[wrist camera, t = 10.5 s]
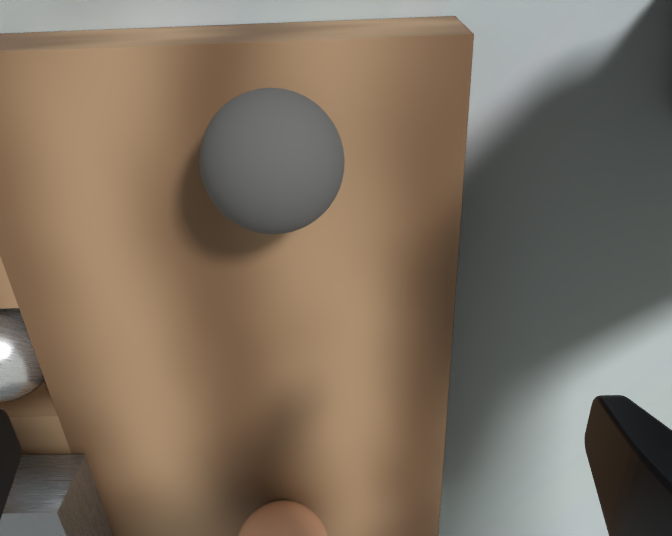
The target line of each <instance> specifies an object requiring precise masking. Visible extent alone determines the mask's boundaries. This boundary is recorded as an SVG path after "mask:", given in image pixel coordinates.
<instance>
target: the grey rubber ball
mask: <svg viewBox="0 0 672 536" xmlns="http://www.w3.org/2000/svg"><path fill="white" fill-rule="evenodd" d="M199 163H200V173H201V177H202V181H203V184H204V186H205V189H206V191H207V193H208V195H209V197H210V199H211V200H212V202H213V203H214V205H215V206H216V207H217V208H218V209H219V211H220V212H221V213H222V214H224V215H225V216H226V217H227V218H228V219H229V220H231V221H232V222H234V223H235V224H237V225H239V226H241V227H243V228H245V229H248V230H250V231H254V232H257V233H263V234H283V233H289V232H293V231H296V230H299V229H301V228H304V227H306V226H308V225H309V224H311V223H312V222H314V221H315V220H317V219H318V218H319V217H320V216H321V215H322V214H324V213H325V211H326V210H327V209H328V208H329V207H330V205H331V204H332V202H333V201H334V199H335V198H336V196H337V193H338V191H339V189H340V186H341V183H342V179H343V174H344V163H345V159H344V150H343V146H342V141H341V138H340V136H339V133H338V131H337V129H336V127H335V125H334V123H333V122H332V120H331V119H330V118H329V116H328V115H327V114H326V113H325V112H324V111H323V109H322V108H321V107H320V106H318V105H317V104H316V103H315V102H313V101H312V100H310V99H309V98H307V97H305V96H303V95H301V94H299V93H297V92H294V91H290V90H287V89H281V88H261V89H256V90H252V91H248V92H245V93H243V94H240V95H238V96H237V97H235V98H233V99H231V100H230V101H229V102H227V103H226V104H225V105H224V106H223V107H222V108H221V109H220V110H219V111H218V112H217V113H216V114H215V115H214V117H213V118H212V119H211V121H210V123H209V125H208V126H207V128H206V131H205V133H204V136H203V139H202V142H201V147H200V160H199Z"/></svg>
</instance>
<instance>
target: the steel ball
mask: <svg viewBox="0 0 672 536" xmlns="http://www.w3.org/2000/svg"><path fill="white" fill-rule="evenodd" d="M43 381H44V376H43V374H42V371H41V368H40V365H39V362H38V360H37V357H36V354H35V351H34V348H33V346H32V343H31V340H30V337H29V335H28V332H27V329H26V326H25V323H24V321H23V318H22V315H21V312H20V310H19V308H4V309H0V402H5V401H11V400H14V399H18V398H20V397H22V396H24V395H26V394H28V393H30V392H31V391H33V390H34V389H35V388H37V387H38V386H39V385H40V384H41V383H42V382H43Z"/></svg>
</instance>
